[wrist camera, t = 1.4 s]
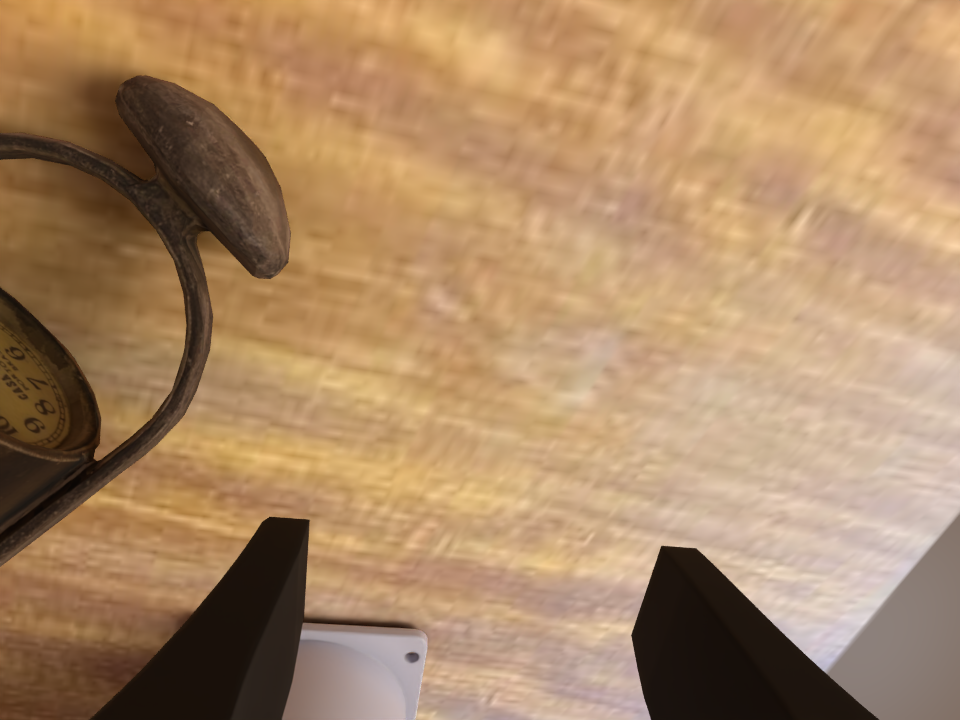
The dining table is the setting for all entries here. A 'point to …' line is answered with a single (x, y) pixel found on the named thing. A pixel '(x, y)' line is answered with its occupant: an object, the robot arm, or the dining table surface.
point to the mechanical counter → (178, 220)
